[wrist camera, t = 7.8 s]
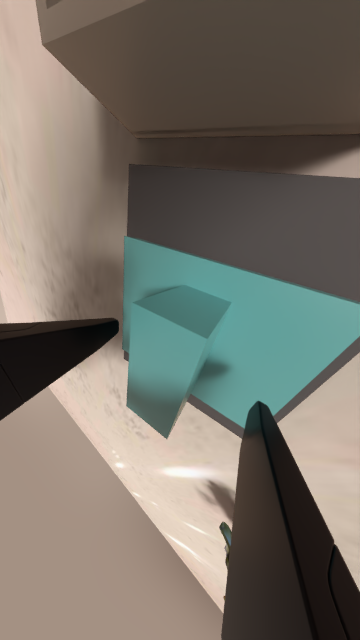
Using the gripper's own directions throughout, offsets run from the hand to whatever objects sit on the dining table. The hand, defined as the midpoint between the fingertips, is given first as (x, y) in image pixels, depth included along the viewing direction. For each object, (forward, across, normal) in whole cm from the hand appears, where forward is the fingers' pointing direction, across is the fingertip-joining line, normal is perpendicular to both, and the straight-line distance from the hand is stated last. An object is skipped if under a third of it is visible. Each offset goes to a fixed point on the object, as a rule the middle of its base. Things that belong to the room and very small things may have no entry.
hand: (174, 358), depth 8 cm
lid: (+4, 0, 0) cm, 4 cm away
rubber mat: (+5, 0, 0) cm, 5 cm away
